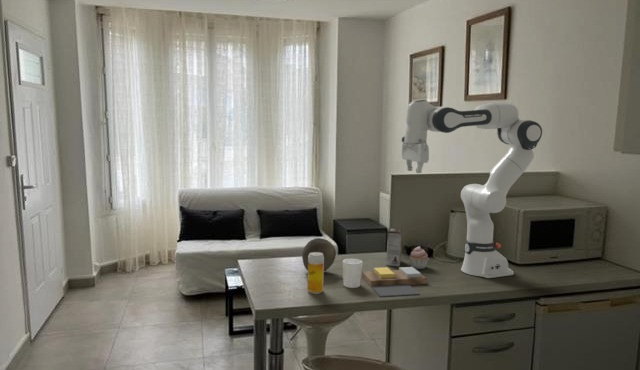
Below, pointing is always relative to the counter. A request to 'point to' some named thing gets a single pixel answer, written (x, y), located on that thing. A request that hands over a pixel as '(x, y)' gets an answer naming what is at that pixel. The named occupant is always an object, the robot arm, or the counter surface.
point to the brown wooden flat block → (392, 279)
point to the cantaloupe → (321, 247)
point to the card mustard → (384, 272)
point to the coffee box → (394, 246)
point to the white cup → (352, 272)
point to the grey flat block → (409, 272)
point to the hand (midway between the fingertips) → (414, 171)
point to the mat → (394, 290)
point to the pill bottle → (315, 272)
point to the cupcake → (418, 258)
